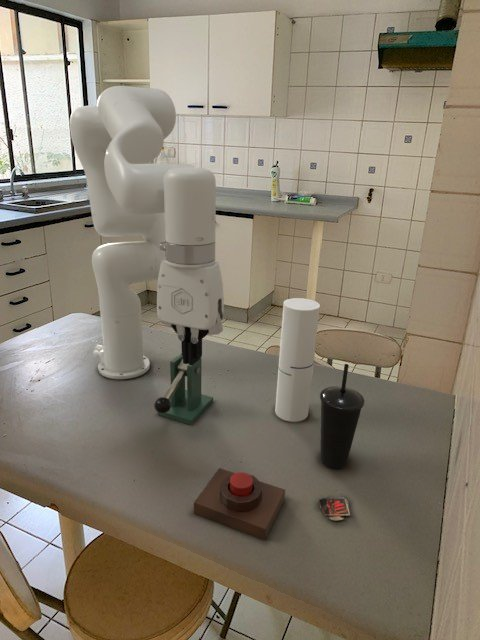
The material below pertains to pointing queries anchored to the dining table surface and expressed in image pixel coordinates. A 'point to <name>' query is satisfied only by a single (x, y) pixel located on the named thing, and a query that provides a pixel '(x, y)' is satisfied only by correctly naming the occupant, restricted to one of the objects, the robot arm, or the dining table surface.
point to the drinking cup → (338, 422)
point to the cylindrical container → (296, 358)
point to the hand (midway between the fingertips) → (192, 361)
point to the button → (241, 484)
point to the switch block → (240, 505)
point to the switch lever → (171, 390)
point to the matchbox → (334, 507)
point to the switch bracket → (187, 394)
